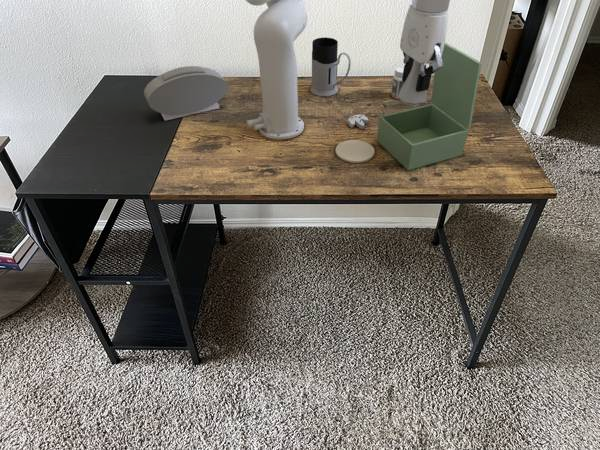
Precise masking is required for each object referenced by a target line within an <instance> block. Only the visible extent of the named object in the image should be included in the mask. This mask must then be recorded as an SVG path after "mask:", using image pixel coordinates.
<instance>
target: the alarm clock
mask: <svg viewBox="0 0 600 450" xmlns="http://www.w3.org/2000/svg"><path fill="white" fill-rule="evenodd" d="M228 85H229V84H228V83H227V81H226V80H225V79H224V77H223V76H222V75H221V74H220V73H219V72H218V71H216V70H215V69H212V68H209V67H203V66H197V65H188V66H181V67H177V68H173V69H170V70H168V71H166V72H164V73H162V74H159V75H157V76H156V77H154V78H153V79H152V80H151V81H150V82H148V83H147V84H146V86H145V88H144V90H143V96H144V98H145V100H146V101H147V104H148V106H149V107H150V109H152V110H153V111H155V113H156V112H157V113H159V114H160V115H161V117H162V118H163V120H164V121H169V120H174V119H178V118H182V117H186V116H191V115H196V114H200V113H203V112H204V113H205V112H209V111H213V110H217V109H220V108H221V107H220V104H219V103H218V102H219V101H221V100H222V99H223V98H224V97H225V96H226V94H227V93H228V90H229V86H228Z"/></svg>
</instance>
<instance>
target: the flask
mask: <svg viewBox="0 0 600 450" xmlns="http://www.w3.org/2000/svg"><path fill="white" fill-rule="evenodd" d="M419 74H421V63H419V62H417V61H416V60H414V62H413V66H412V69H411V72H410V74H409V75H408V77H407V79H406V81H405V83H404V84H403V86H402V88H401V90H400V92H399V94H398V97H399V98H400V99H399V100H401V101H402V102H403V103H407V104H414V105H417V104H424V103H427V102H428V98H429V93H428V90H425V91H420V92H417V91H416V85H417V80H418V75H419Z"/></svg>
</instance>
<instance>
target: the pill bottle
mask: <svg viewBox="0 0 600 450" xmlns="http://www.w3.org/2000/svg"><path fill="white" fill-rule="evenodd" d="M403 71H404V66H398V67H395V69H394V75H393V76H392V85H391V92H390V96H391V97H392V98H394V99H397V100H401V99H400V98H399V97H398V94H399V92H400V90H401V88H402V86H403V84H404V83H405V82H404V81H402V77H403Z"/></svg>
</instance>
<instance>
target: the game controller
mask: <svg viewBox="0 0 600 450" xmlns="http://www.w3.org/2000/svg"><path fill="white" fill-rule="evenodd" d="M340 111H341V113H342V114H343V115H346V116H347V115H348V116H350V114H349V113H346V114H344V112H343V111H342V110H341V109H340V110H339V112H340ZM368 121H369V118H368V117H367V116H366V115H364V114H355V115H352V116H350V117H349V118H348V119H347V124H348V127H350V128H355V127H357V128H359V129H361V130H364V129H365V124H368Z"/></svg>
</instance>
